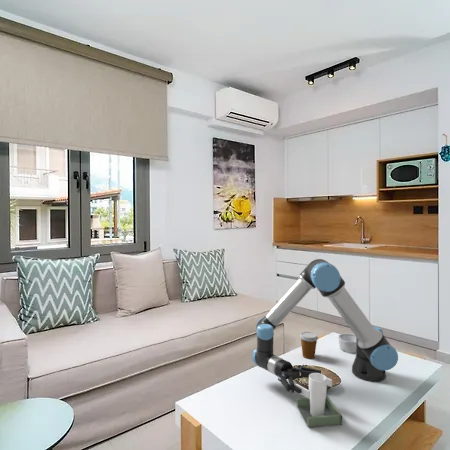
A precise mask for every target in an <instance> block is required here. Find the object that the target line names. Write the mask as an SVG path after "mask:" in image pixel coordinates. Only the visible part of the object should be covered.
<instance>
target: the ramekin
mask: <svg viewBox="0 0 450 450" xmlns="http://www.w3.org/2000/svg"><path fill="white" fill-rule="evenodd" d="M338 344H339V345H338V346H339V348H340V350H341V351H343V352H344V353H347V354H356V336H355V334H354V333H340V334H339V335H338Z"/></svg>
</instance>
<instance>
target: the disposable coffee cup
mask: <svg viewBox="0 0 450 450" xmlns="http://www.w3.org/2000/svg"><path fill="white" fill-rule="evenodd" d="M299 338H300V344H301V351H302V358H304V359H309V360H310V359H314V358H315V357H316V356H315V355H316V349H317V343H318V339H319V337H318V334H317V333H315V332H311V331H303V332H301V333H300V335H299Z"/></svg>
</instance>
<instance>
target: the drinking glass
mask: <svg viewBox="0 0 450 450" xmlns="http://www.w3.org/2000/svg"><path fill="white" fill-rule="evenodd" d="M326 377H327V376H326V375H324V374H322V373H321V374H320V373H311V374H310V375H309V378H308V390H309V391H310V398H309V399H310V414H311V415H312V416H324V409H325V400H326V396H327V390H328V385H327V378H328V377H327V378H326Z"/></svg>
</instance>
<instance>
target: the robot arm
mask: <svg viewBox="0 0 450 450" xmlns="http://www.w3.org/2000/svg"><path fill="white" fill-rule="evenodd" d="M298 275H299V276H298V277H299V278H298V279H297V280H296V281H295V282H294V283H293V285H291V286H290V287H289V289H288V290H287V291H286V292H285V293H284V294H283V295H282V296H281V298H280V299H279V300H278V301H277V302H276V304H275V305H273V307H271V309H270V310H269V311H268V312H267V313H266V314H265V316H263V317H261V318H259V319H258V320H257V323H256V348H255V349H254V350H253V351H252V354H251V360H252V361H251V362H253V363H254V364H255V365H257V367H259V368H262V369H263V370H266V371H267V372H269V373H270V374H272V375H274V376H276V377H277V381H278V382H279V383H281V385H282V386H283V387H284V389H285V391H286V392H288V393H290V392H291V393H292V394H294V393H298V394H300V395H301V396H303V397H304V398H308V399H309V398H310V391H309V389H307V388H305V387H304V386H301V385H300V384H298V383H295V382H294V380H297V379H303V378H305V379H309V375H310V374H311V373H320V374H322V370H320V369H315V368H312V367H307V366H303V365H300V364H298V366H297V367H295V366H294V365H292V363H291V362H290V361H288V360H287V359H286V360H285V359H284V358H282V357H280V356H278V355H275V354H274V337H275V334H274V333H275V330H276V328H277V327H278V326H279V325H280V323H282V322H283V320H284V319H286V317H287V316H288V315H289V314H290V312H291V311H293V309H295V307H296V306H297V305H298V304H299V303H300V302H301V301H302V300H303V299H304V298H305V296H306V295H308V293H309V292H310V291H311V290H314V289H317V290H318V291H319V294H320V295H321V296H322V297H323V298H328V299H329V301H330V302H331V304H332V306H333V307H334V308H335V310H336V311H337V312H338V314H339V315H340V316H341V318H342V319H343V320H344V322H345V323H346V325H347V326H348V327H349V329H350V330H351V332H352V334H354V335H355V336H356V353H355V356H354V357H355V358H354V360H353V362H352V365H351V366H352V367H351V373H352V374H353V375H354V376H355V377H356V378H359V379H361V380H363V381H368V382H382V381H384V380H385V379H386V378H387V371H389V370H391V369H393V368H395V367H396V365H397V364H398V360H399V355H398V352H397V350H396V348H395V347H394V346H393V345H391V343H390V342H389V341H388V339H387V337H385V335H384V330H383V329H382V328H380V327H378V326H373V324H372V323H371V322H370V320H369V319H368V317H367V316H366V315H365V313H364V312H363V311H362V309H361V308H360V307H359V305H358V304H357V303H356V301H355V300H354V298H353V297H352V296H351V295H350V293H349V292H348V290H347V289H346V281H345V280H344V279H343V277H342V276H341V273H340V271H339V270H338V268H337V267H336V266H335V265H333V264H331V263H330V262H329V261H327V260H326V259H323V258H318V259H313V260H312V261H311V262H309V263H308V264H307V266H305V268H304V269H303V270H302V271H301V272H300V274H298ZM326 378H327V387H330V388H332V387H333V379H331V378H329V377H328V376H326Z"/></svg>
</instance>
